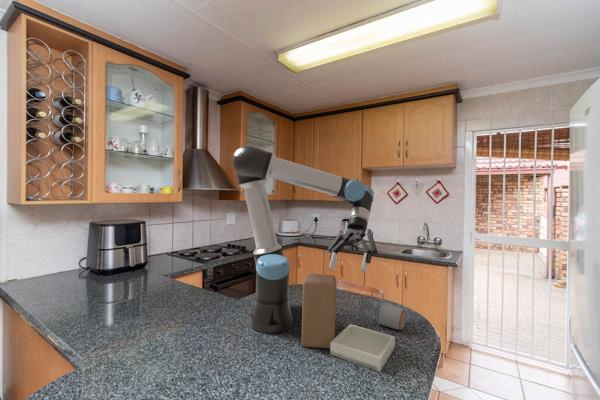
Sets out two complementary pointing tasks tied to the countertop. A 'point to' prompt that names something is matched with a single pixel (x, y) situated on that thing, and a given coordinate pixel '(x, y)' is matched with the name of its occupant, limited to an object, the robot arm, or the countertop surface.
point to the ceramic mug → (392, 316)
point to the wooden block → (318, 310)
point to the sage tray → (363, 347)
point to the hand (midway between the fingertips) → (346, 270)
